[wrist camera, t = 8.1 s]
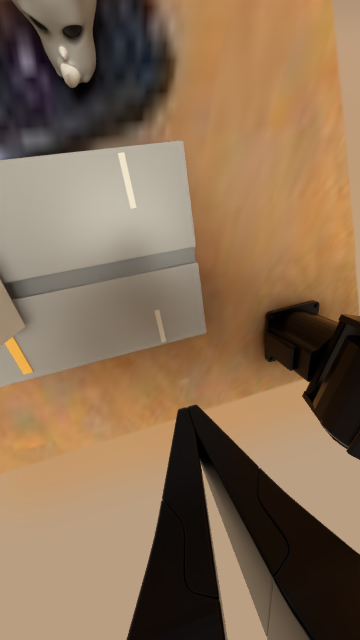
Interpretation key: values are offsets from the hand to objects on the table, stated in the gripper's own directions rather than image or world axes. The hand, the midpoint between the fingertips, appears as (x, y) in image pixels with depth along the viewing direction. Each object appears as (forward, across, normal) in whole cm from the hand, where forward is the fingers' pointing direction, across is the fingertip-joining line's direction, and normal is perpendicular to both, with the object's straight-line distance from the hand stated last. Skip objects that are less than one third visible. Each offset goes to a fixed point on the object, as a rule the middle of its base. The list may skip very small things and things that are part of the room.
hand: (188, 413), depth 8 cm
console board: (+12, +6, -5) cm, 14 cm away
